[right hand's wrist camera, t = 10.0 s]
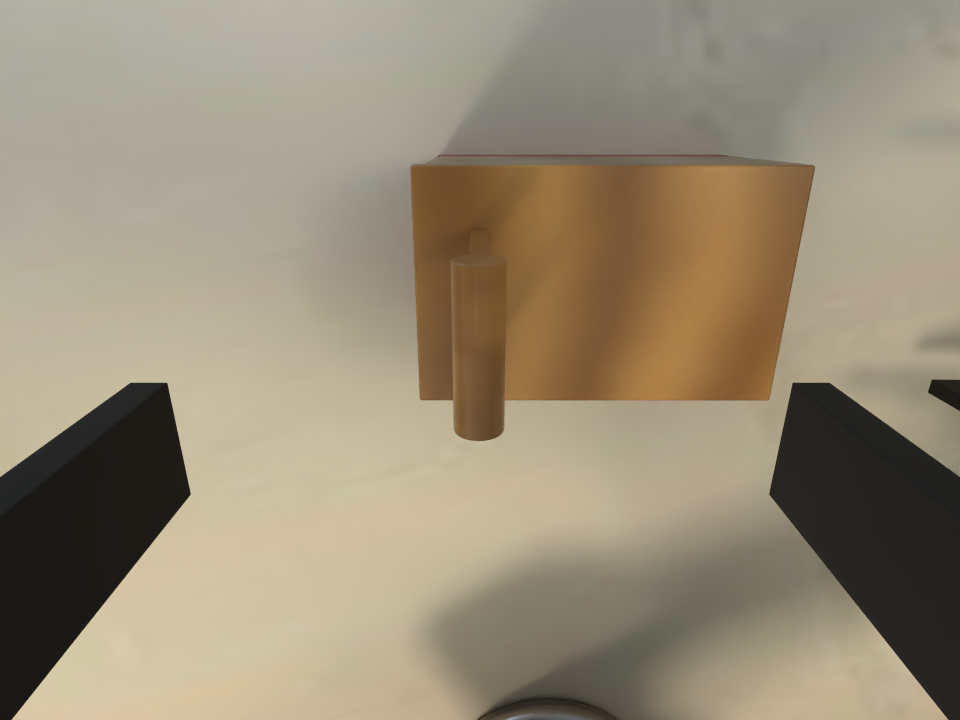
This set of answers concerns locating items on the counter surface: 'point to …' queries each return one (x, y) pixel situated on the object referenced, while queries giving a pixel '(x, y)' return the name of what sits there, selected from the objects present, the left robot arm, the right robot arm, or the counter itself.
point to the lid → (601, 282)
